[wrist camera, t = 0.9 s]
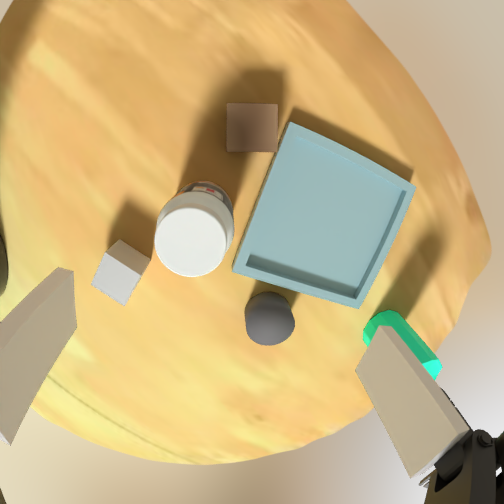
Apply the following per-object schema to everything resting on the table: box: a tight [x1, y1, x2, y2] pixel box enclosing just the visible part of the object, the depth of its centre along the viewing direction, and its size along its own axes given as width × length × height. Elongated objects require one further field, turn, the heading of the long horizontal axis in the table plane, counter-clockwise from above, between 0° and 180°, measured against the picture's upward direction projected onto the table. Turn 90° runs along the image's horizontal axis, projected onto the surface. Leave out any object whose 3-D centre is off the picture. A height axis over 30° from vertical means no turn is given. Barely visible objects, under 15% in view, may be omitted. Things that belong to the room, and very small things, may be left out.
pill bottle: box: [154, 181, 234, 277], centre depth 22 cm, size 6×6×10 cm
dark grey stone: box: [245, 292, 295, 345], centre depth 30 cm, size 5×5×3 cm
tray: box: [232, 122, 416, 309], centre depth 28 cm, size 15×15×2 cm
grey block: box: [91, 239, 151, 306], centre depth 26 cm, size 4×4×4 cm
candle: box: [363, 310, 442, 380], centre depth 28 cm, size 6×6×12 cm
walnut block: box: [227, 103, 278, 152], centre depth 23 cm, size 4×4×4 cm
